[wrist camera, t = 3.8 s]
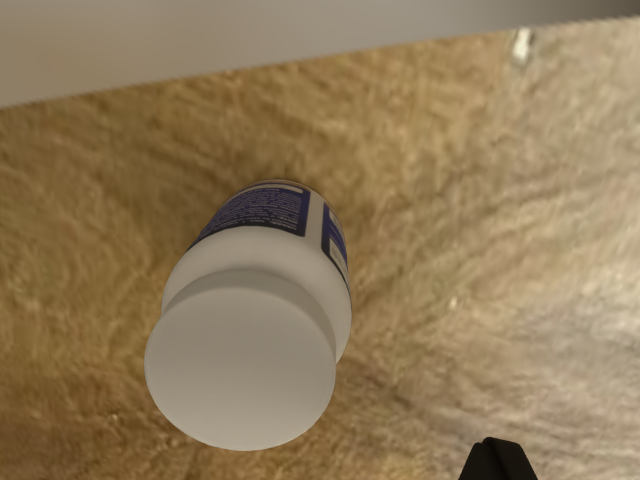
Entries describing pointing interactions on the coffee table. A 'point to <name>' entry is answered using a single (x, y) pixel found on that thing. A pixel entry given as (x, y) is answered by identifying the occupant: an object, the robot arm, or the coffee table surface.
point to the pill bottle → (253, 320)
